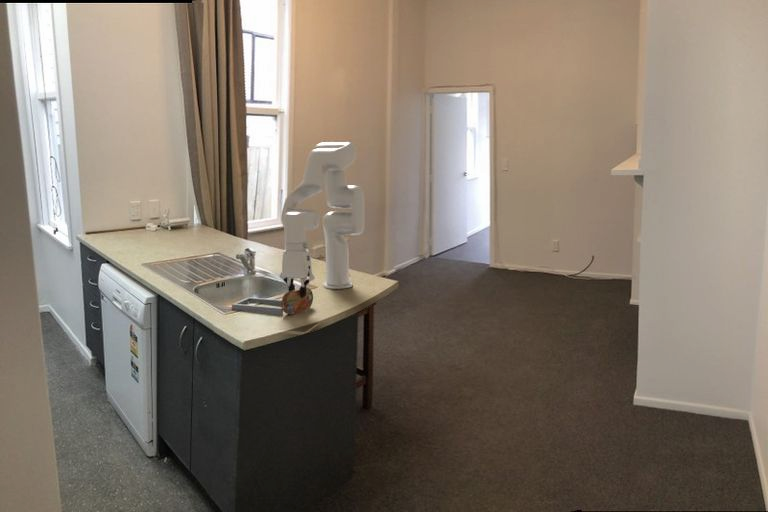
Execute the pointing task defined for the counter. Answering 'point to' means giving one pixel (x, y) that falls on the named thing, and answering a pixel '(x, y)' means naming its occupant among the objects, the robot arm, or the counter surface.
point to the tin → (296, 301)
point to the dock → (260, 309)
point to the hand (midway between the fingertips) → (297, 296)
